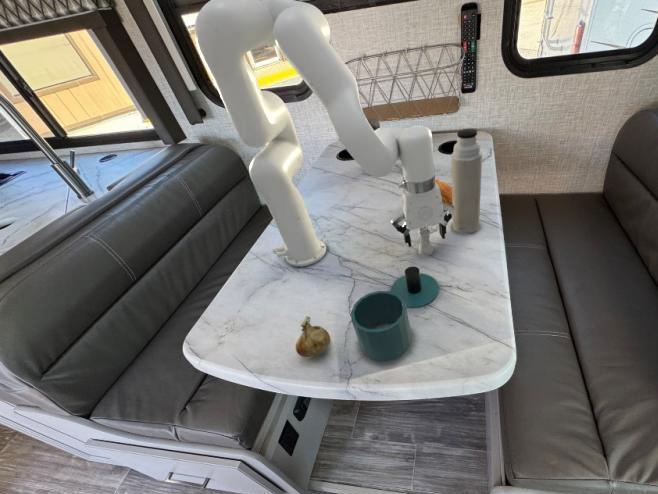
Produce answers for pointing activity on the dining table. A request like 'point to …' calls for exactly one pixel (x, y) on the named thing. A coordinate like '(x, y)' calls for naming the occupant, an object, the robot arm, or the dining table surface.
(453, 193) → the thermos bottle
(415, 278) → the canister lid
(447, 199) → the croissant
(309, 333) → the onion
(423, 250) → the rook chess piece
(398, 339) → the canister
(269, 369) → the dining table surface
